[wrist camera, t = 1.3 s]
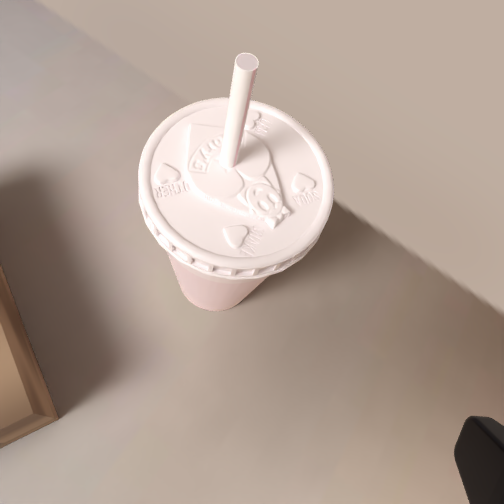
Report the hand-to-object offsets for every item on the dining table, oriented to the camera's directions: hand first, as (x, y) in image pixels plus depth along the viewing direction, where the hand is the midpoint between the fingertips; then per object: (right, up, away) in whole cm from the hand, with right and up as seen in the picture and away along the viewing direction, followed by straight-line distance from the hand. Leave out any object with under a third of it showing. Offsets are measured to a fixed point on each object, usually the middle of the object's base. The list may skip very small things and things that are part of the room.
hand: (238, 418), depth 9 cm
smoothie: (-2, +2, +15) cm, 15 cm away
